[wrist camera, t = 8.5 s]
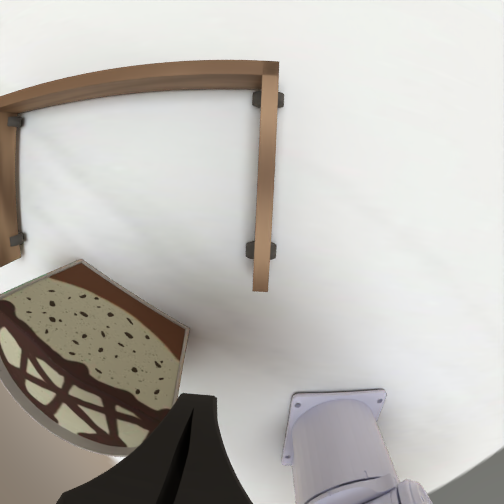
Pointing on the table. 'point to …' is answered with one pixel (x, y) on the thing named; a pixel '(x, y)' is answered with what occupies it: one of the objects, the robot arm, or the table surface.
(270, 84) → the wooden u-shaped frame
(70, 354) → the food container
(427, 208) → the table surface
